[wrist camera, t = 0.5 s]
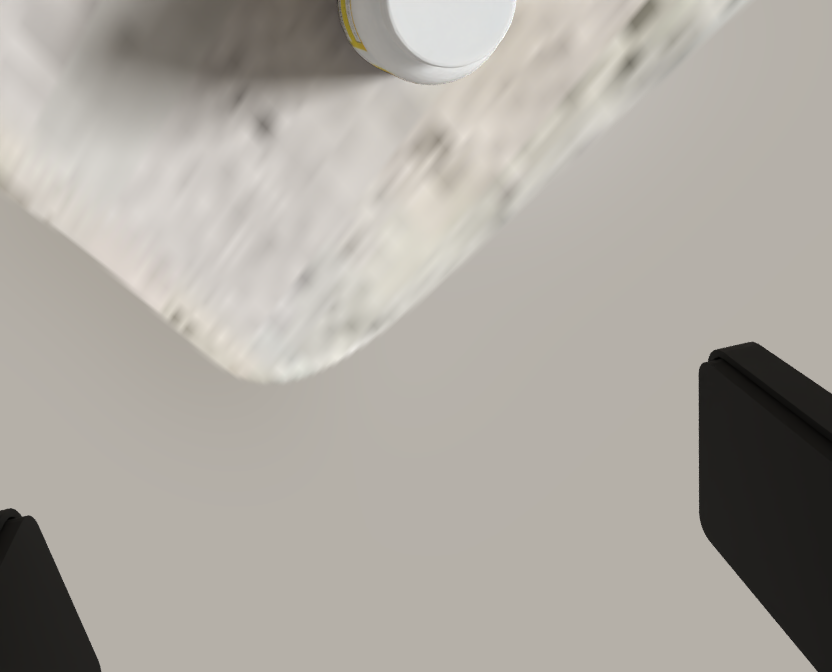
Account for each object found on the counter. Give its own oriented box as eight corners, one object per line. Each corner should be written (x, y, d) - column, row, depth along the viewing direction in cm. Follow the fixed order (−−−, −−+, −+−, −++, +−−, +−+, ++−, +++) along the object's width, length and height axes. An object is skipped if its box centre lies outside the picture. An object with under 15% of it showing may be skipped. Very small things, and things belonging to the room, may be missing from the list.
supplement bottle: (492, 4, 32) (576, 2, 23) (400, 99, 33) (447, 133, 24) (403, -106, 30) (456, -154, 21) (307, -1, 31) (320, -4, 22)
